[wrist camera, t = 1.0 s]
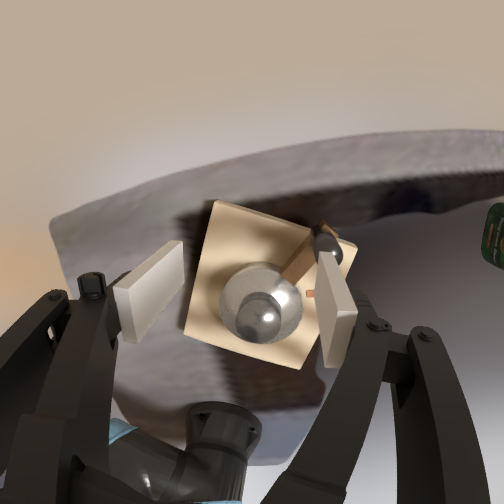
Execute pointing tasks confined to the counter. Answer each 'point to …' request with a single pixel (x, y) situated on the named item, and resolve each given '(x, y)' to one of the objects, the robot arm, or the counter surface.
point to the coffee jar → (494, 236)
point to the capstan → (273, 291)
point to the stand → (240, 254)
